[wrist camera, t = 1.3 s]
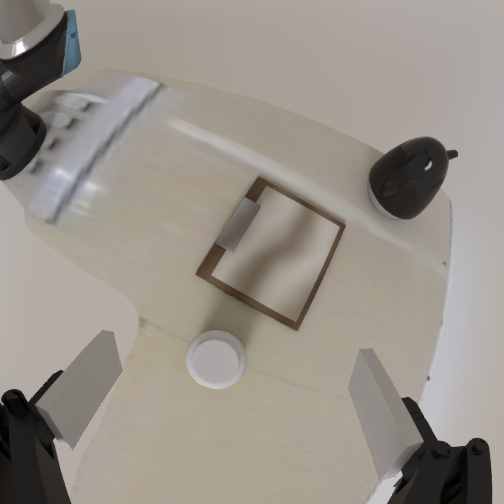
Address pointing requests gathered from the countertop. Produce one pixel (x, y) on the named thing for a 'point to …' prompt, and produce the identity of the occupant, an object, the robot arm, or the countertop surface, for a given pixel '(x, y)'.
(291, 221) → the clipboard
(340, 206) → the countertop surface
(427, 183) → the pump dispenser
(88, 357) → the robot arm
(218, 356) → the supplement bottle
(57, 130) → the countertop surface
